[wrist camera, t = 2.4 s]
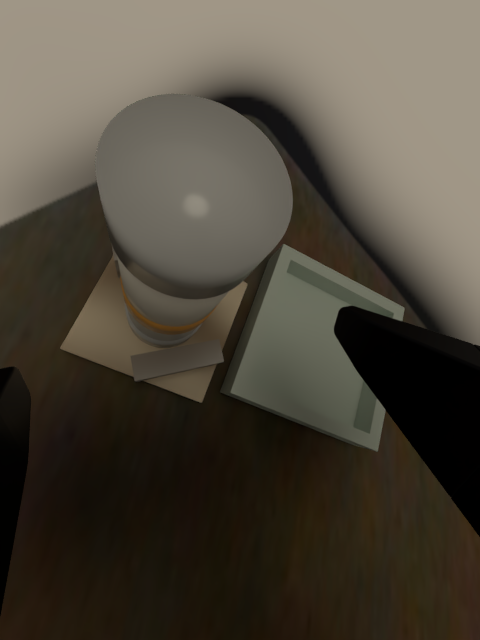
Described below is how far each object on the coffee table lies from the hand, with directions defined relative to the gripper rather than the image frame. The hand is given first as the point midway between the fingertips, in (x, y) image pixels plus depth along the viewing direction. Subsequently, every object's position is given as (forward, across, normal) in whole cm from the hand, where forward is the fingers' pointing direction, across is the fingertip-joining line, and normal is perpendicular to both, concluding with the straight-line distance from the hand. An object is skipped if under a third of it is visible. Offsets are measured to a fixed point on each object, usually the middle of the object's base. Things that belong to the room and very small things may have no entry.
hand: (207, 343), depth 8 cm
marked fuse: (+9, 0, +4) cm, 10 cm away
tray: (+7, -9, +8) cm, 14 cm away
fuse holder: (+10, 0, +5) cm, 11 cm away
